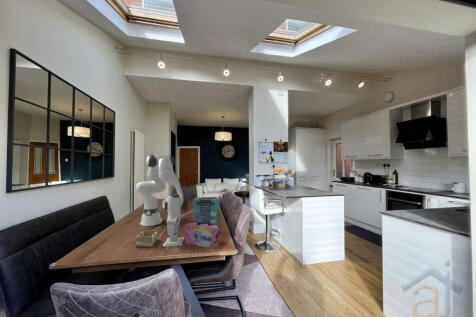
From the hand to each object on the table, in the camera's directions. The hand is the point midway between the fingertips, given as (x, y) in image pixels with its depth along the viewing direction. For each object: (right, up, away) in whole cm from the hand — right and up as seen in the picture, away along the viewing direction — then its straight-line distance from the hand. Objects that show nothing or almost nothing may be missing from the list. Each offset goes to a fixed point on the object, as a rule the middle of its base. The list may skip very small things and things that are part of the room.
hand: (173, 237), depth 136 cm
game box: (+19, -5, +21) cm, 29 cm away
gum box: (+20, -4, -2) cm, 20 cm away
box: (-18, -3, -2) cm, 18 cm away
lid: (0, -3, 0) cm, 3 cm away
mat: (0, -4, +1) cm, 4 cm away
